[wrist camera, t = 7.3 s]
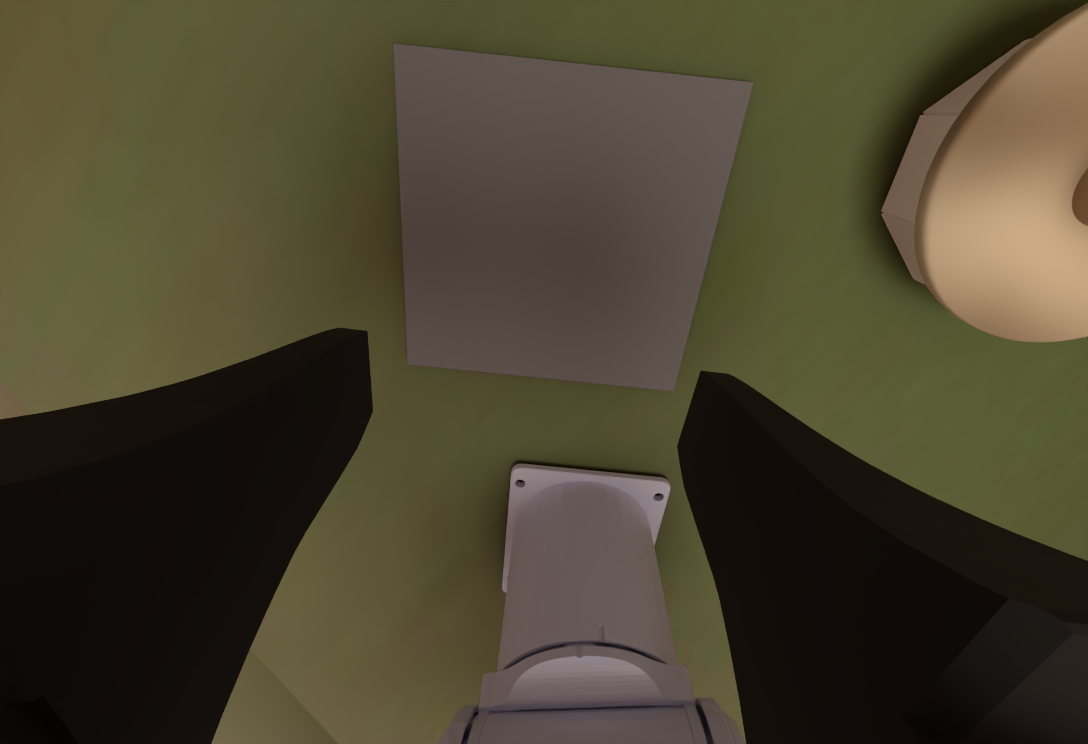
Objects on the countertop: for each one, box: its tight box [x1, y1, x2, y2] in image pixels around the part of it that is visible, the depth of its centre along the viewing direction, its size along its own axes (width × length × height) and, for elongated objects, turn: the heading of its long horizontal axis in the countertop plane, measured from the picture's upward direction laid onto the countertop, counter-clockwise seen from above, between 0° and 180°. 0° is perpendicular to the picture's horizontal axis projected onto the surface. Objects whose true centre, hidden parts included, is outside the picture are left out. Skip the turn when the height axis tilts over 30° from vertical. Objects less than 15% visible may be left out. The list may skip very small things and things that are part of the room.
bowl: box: [881, 38, 1032, 285], centre depth 16 cm, size 8×8×3 cm
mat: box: [393, 43, 754, 391], centre depth 19 cm, size 12×12×1 cm
